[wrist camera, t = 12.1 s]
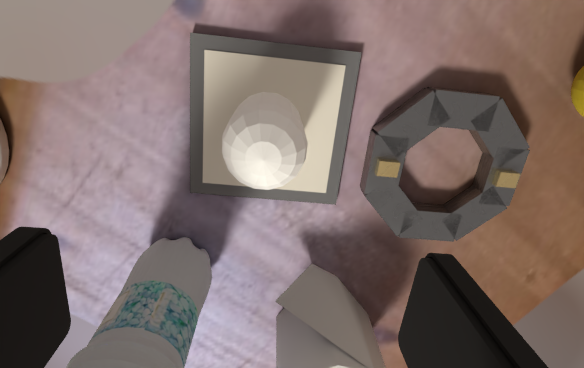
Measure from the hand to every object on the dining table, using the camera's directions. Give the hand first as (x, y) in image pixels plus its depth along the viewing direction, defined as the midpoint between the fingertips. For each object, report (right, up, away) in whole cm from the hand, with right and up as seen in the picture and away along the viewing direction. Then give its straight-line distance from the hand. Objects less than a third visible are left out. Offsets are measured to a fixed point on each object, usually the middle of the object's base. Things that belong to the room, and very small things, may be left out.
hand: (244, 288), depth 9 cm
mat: (0, +7, +18) cm, 20 cm away
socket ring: (+13, +4, +20) cm, 24 cm away
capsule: (-1, +7, +18) cm, 19 cm away
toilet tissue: (+4, -10, +26) cm, 28 cm away
